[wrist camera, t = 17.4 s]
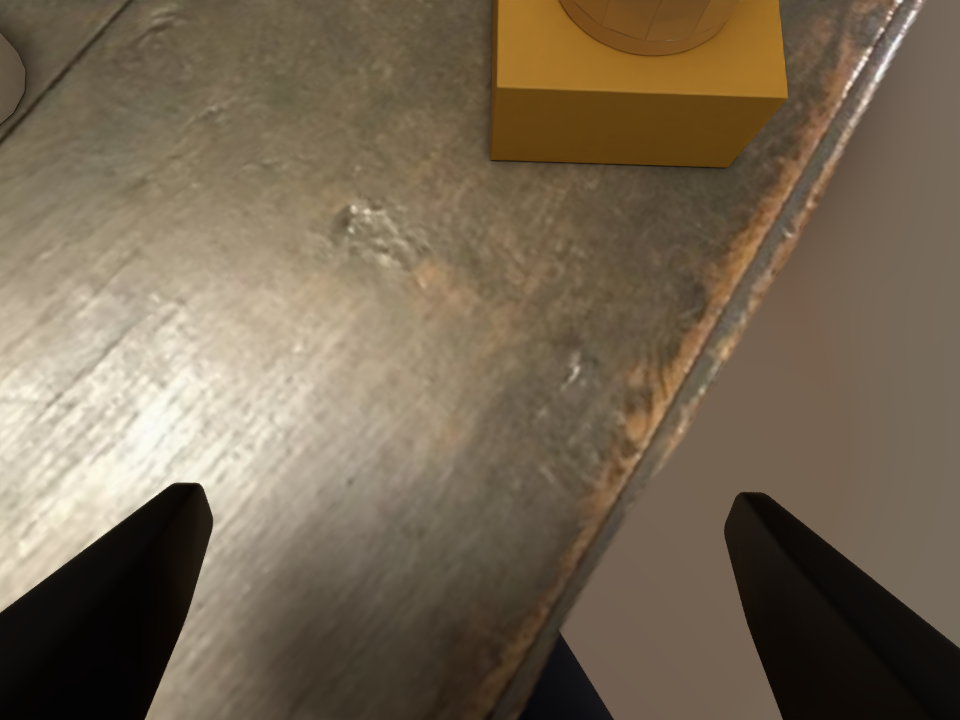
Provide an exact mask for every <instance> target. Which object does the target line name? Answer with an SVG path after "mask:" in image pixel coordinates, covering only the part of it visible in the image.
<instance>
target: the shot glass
mask: <svg viewBox="0 0 960 720" xmlns="http://www.w3.org/2000/svg"><path fill="white" fill-rule="evenodd" d="M25 75H26V70H25V68H24V66H23V63H22V61H21V59H20V57H19V54H18V52H17V51H16V50H15V49H14V48H13V46H12V45H11V44H10V43H9V42H8V41H7V40H6V39H5V37H4V36H3V35H2V34H1V33H0V124H1V123H2V122H3V121H4V120H5V119H7V118H8V117H9V116H10V115H11V114H12V113H13V112H14V111H15V109H16V107H17V105H18V103H19V101H20V99H21V97H22V96H23V94H24V91H25Z"/></svg>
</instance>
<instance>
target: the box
mask: <svg viewBox="0 0 960 720" xmlns="http://www.w3.org/2000/svg"><path fill="white" fill-rule="evenodd" d="M787 98H788V89H787V79H786V69H785V60H784V50H783V40H782V30H781V21H780V11H779V1H778V0H740V2H739V4H738V5H737V7H736V9H735V10H734V12H733V14H732V15H731V17H730V19H729V20H728V22H727V23H726V24H725V25H724V26H723V28H722V29H721V30H720V31H719V32H718V33H716V34H715V35H714V36H713V37H712V38H710V39H709V40H707V41H706V42H704V43H702V44H701V45H699V46H696V47H694V48H692V49H690V50H687V51H683V52H680V53H676V54H670V55H660V56H648V55H638V54H632V53H627V52H624V51H620V50H617V49H614V48H612V47H610V46H607V45H605V44H603V43H601V42H600V41H598V40H596V39H594V38H593V37H591V36H590V35H589V34H587V33H586V32H585V31H583V30H582V29H581V28H580V27H579V26H578V25H577V24H576V23H575V22H574V21H573V20H572V19H571V17H570V16H569V15H568V14H567V12H566V11H565V9H564V7H563V6H562V4H561V2H560V0H493V12H492V75H491V137H490V159H491V160H512V161H542V162H573V163H603V164H634V165H664V166H694V167H725V168H727V167H729V166H730V164H731V163H732V162H733V161H734V160H735V159H736V157H737V156H738V155H739V154H740V153H741V152H742V150H743V149H744V148H745V147H746V146H747V145H748V144H749V142H750V141H751V140H752V139H753V138H754V137H755V135H756V134H757V133H758V132H759V131H760V130H761V128H762V127H763V126H764V125H765V124H766V123H767V122H768V120H769V119H770V118H771V117H772V116H773V115H774V113H775V112H776V111H777V110H778V109H779V108H780V106H781V105H782V104H783V103H784V102H785V101H786V100H787Z"/></svg>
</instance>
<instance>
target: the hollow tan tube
mask: <svg viewBox="0 0 960 720" xmlns="http://www.w3.org/2000/svg"><path fill="white" fill-rule="evenodd" d="M560 2H561V4H562V6H563V7H564V9H565V11H566V12H567V14H568V15H569V16H570V17H571V19H572V20H573V21H574V22H575V23H576V24H577V25H578V26H579V27H580V28H581V29H582V30H583V31H585V32H586V33H587V34H589V35H590V36H591V37H593V38H594V39H596V40H598V41H600V42H601V43H603V44H605V45H607V46H610V47H612V48H614V49H617V50H620V51H624V52H627V53H632V54H638V55H648V56H660V55H670V54H676V53H680V52H683V51H687V50H690V49H692V48H694V47H696V46H699V45H701V44H702V43H704V42H706V41H707V40H709V39H710V38H712V37H713V36H714V35H715V34H716V33H718V32H719V31H720V30H721V29H722V28H723V26H724V25H725V24H726V23H727V22H728V20H729V19H730V17H731V15H732V14H733V12H734V10H735V9H736V7H737V5H738V4H739V2H740V0H560Z"/></svg>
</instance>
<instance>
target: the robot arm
mask: <svg viewBox="0 0 960 720" xmlns="http://www.w3.org/2000/svg"><path fill="white" fill-rule="evenodd" d="M212 528H213V516H212V512H211V509H210V506H209V503H208V500H207V497H206V495H205V492H204V489H203V487H202V486H201V485H200V484H199V483H174V484H172V485H170V486H168V487H167V488H166V489H164V490H163V491H162V492H160V493H159V494H158V495H156V496H155V497H154V498H152V499H151V500H150V501H148V502H147V503H146V504H144V505H143V506H142V507H140V508H139V509H138V510H136V511H135V512H134V513H132V514H131V515H130V516H128V517H127V518H126V519H124V520H123V521H122V522H120V523H119V524H118V525H116V526H115V527H114V528H112V529H111V530H110V531H109V532H107V533H106V534H105V535H103V536H102V537H101V538H99V539H98V540H97V541H95V542H94V543H93V544H91V545H90V546H89V547H87V548H86V549H85V550H83V551H82V552H81V553H79V554H78V555H77V556H75V557H74V558H73V559H71V560H70V561H69V562H67V563H66V564H65V565H63V566H62V567H61V568H59V569H58V570H57V571H55V572H54V573H53V574H51V575H50V576H49V577H47V578H46V579H45V580H43V581H42V582H41V583H39V584H38V585H37V586H35V587H34V588H33V589H31V590H30V591H29V592H27V593H26V594H25V595H23V596H22V597H21V598H19V599H18V600H17V601H15V602H14V603H13V604H11V605H10V606H9V607H7V608H6V609H5V610H3V611H2V612H1V613H0V720H145V718H146V715H147V713H148V710H149V708H150V705H151V703H152V701H153V698H154V696H155V693H156V691H157V688H158V686H159V684H160V681H161V679H162V676H163V674H164V672H165V669H166V667H167V664H168V662H169V659H170V657H171V655H172V652H173V650H174V647H175V645H176V642H177V640H178V638H179V635H180V633H181V630H182V627H183V625H184V622H185V620H186V617H187V614H188V611H189V607H190V604H191V601H192V598H193V594H194V591H195V587H196V584H197V580H198V577H199V574H200V570H201V567H202V563H203V560H204V556H205V553H206V549H207V546H208V543H209V539H210V536H211V532H212ZM724 535H725V540H726V544H727V548H728V552H729V555H730V560H731V564H732V567H733V571H734V575H735V579H736V583H737V587H738V591H739V595H740V598H741V602H742V606H743V610H744V613H745V617H746V620H747V624H748V627H749V629H750V632H751V635H752V638H753V641H754V644H755V646H756V649H757V652H758V654H759V657H760V660H761V662H762V665H763V668H764V670H765V673H766V676H767V678H768V681H769V684H770V686H771V689H772V692H773V694H774V697H775V699H776V702H777V705H778V708H779V710H780V713H781V716H782V718H783V720H960V648H959V647H957V646H956V645H955V644H954V643H952V642H951V641H950V640H949V639H947V638H946V637H945V636H944V635H942V634H941V633H940V632H939V631H937V630H936V629H935V628H934V627H932V626H931V625H930V624H929V623H927V622H926V621H925V620H923V619H922V618H921V617H920V616H919V615H917V614H916V613H915V612H913V611H912V610H911V609H910V608H909V607H907V606H906V605H905V604H904V603H902V602H901V601H900V600H898V599H897V598H896V597H895V596H894V595H892V594H891V593H890V592H889V591H887V590H886V589H885V588H884V587H882V586H881V585H880V584H878V583H877V582H876V581H875V580H873V579H872V578H871V577H870V576H869V575H867V574H866V573H865V572H863V571H862V570H861V569H860V568H858V567H857V566H856V565H855V564H853V563H852V562H851V561H850V560H848V559H847V558H846V557H845V556H843V555H842V554H841V553H840V552H838V551H837V550H836V549H835V548H833V547H832V546H831V545H830V544H828V543H827V542H826V541H824V540H823V539H822V538H821V537H819V536H818V535H817V534H816V533H814V532H813V531H812V530H811V529H810V528H808V527H807V526H806V525H805V524H803V523H802V522H801V521H800V520H798V519H797V518H796V517H794V516H793V515H792V514H791V513H790V512H788V511H787V510H785V508H783V507H782V506H781V505H780V504H778V503H777V502H776V501H775V500H773V499H772V498H771V497H769V496H768V495H766V494H764V493H761V492H741V493H739V494H738V495H737V496H736V498H735V500H734V503H733V505H732V508H731V510H730V513H729V515H728V518H727V520H726V523H725V527H724Z"/></svg>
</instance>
